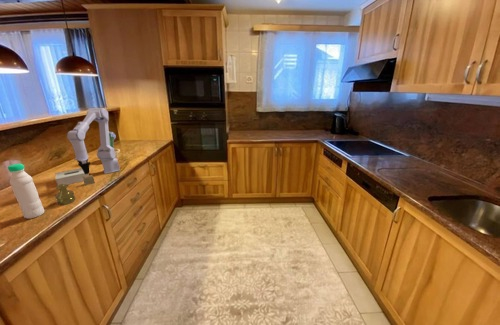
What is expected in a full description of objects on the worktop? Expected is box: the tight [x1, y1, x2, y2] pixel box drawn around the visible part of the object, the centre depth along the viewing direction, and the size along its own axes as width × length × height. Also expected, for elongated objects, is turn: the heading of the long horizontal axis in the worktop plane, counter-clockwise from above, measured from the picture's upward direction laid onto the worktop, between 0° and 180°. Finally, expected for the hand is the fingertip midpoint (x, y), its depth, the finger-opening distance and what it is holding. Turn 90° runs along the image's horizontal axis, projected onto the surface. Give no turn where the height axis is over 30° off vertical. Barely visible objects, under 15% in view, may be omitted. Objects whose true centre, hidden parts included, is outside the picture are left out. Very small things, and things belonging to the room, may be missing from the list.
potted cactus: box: [109, 131, 121, 160], centre depth 175 cm, size 15×15×25 cm
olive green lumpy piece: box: [55, 184, 76, 206], centre depth 111 cm, size 7×7×10 cm
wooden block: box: [83, 174, 96, 186], centre depth 133 cm, size 5×2×5 cm, turn 131°
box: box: [54, 167, 90, 186], centre depth 140 cm, size 16×14×5 cm
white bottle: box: [7, 163, 45, 220], centre depth 97 cm, size 7×7×25 cm
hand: (86, 171), depth 132 cm, fingers open, 7 cm apart
